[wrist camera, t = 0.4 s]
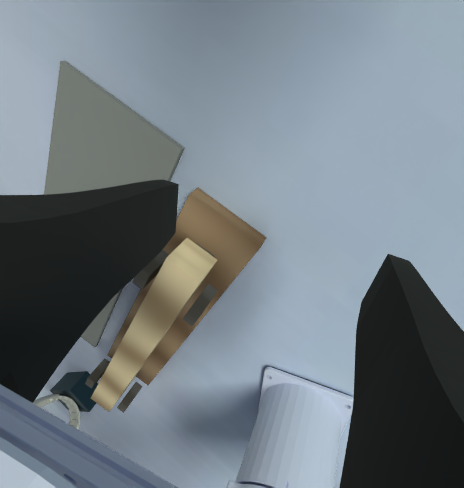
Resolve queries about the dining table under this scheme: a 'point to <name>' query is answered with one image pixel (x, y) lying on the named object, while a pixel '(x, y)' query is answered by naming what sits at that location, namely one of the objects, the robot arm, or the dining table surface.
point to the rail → (154, 318)
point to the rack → (212, 287)
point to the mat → (102, 150)
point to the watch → (71, 395)
